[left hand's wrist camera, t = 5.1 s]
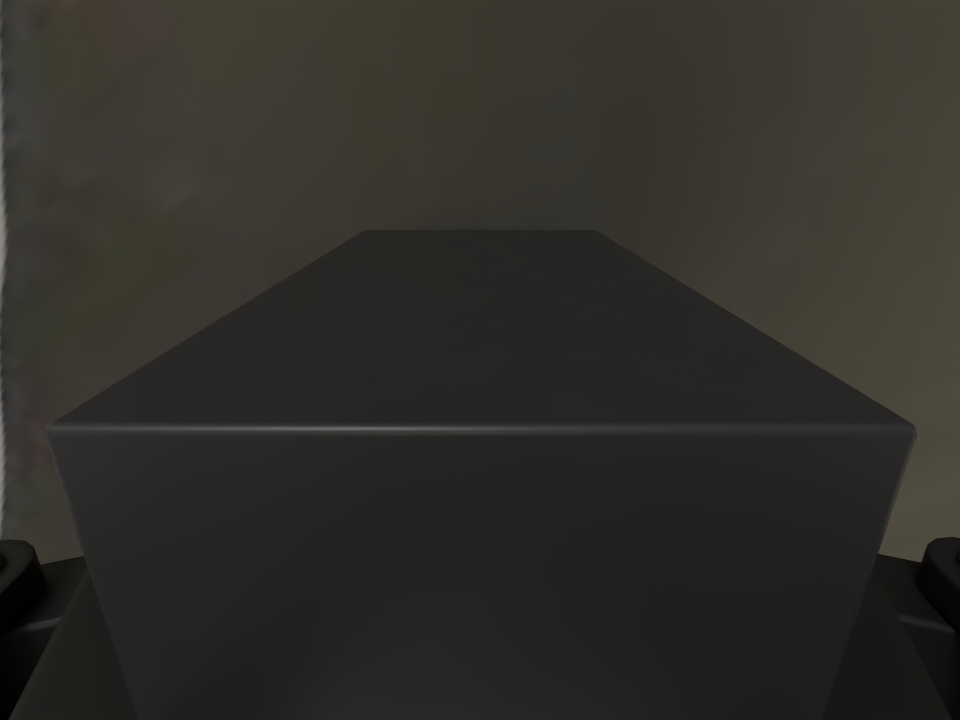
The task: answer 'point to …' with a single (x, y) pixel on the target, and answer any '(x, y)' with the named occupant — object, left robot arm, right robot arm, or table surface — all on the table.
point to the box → (480, 496)
